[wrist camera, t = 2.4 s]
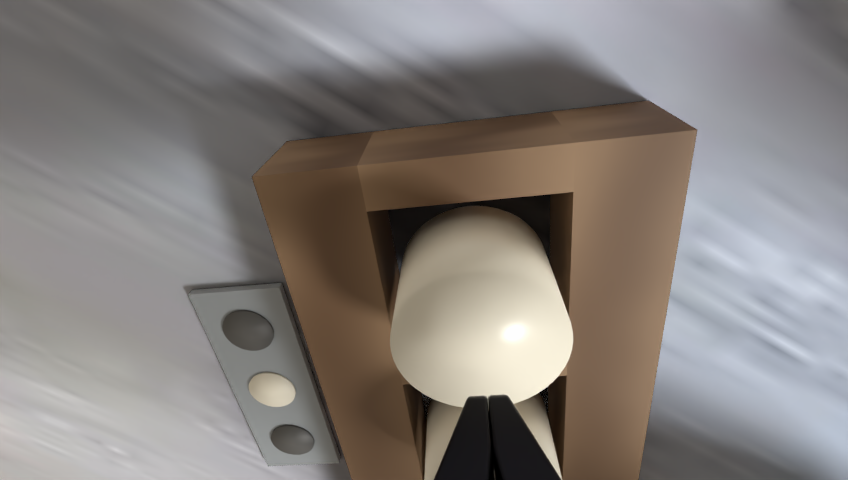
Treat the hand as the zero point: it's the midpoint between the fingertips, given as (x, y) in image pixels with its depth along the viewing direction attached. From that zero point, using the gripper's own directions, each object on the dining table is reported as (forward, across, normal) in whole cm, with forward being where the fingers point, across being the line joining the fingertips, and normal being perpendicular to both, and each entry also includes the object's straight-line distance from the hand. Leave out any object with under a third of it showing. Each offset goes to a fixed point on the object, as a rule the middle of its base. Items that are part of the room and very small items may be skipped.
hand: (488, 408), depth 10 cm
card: (+7, +9, +6) cm, 13 cm away
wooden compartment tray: (+7, 0, +6) cm, 10 cm away
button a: (+5, 0, 0) cm, 5 cm away
